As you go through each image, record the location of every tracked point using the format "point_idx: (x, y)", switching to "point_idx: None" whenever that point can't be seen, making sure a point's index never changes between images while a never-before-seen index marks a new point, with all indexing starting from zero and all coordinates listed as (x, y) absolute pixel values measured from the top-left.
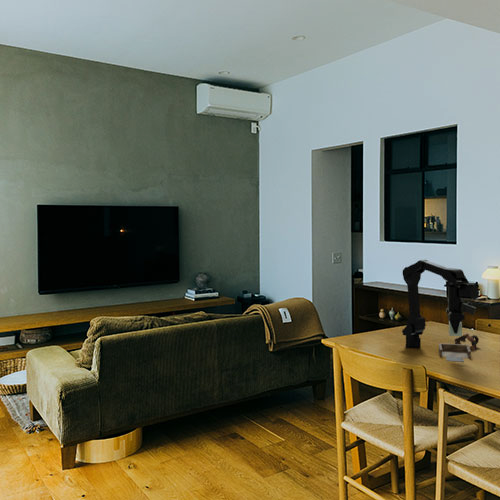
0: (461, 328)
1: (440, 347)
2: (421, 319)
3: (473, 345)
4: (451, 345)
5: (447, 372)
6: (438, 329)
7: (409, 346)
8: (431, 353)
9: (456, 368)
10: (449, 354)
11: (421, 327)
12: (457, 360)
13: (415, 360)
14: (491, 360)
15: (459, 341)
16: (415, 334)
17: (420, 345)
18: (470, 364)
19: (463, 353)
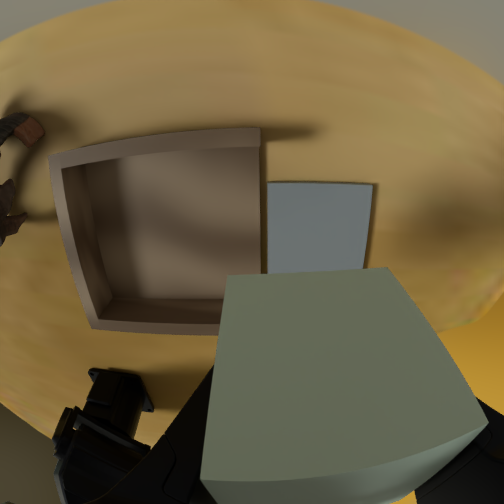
0: (436, 344)
1: (197, 330)
2: (93, 495)
3: (16, 129)
4: (83, 260)
5: (496, 269)
6: None
7: (143, 405)
8: (191, 338)
9: (461, 233)
10: (197, 259)
11: (101, 455)
12: (354, 220)
13: None
14: (251, 9)
15: (11, 217)
16: (114, 434)
17: (117, 379)
18: (392, 149)
19: (135, 174)
